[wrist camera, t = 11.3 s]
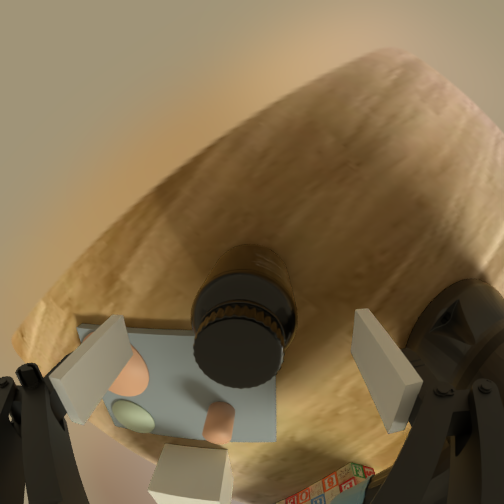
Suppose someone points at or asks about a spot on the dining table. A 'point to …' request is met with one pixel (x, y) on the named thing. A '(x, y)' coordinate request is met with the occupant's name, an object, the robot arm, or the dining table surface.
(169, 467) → the plain off-white box
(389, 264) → the dining table surface
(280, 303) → the supplement bottle
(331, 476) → the stack of blocks
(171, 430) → the board
